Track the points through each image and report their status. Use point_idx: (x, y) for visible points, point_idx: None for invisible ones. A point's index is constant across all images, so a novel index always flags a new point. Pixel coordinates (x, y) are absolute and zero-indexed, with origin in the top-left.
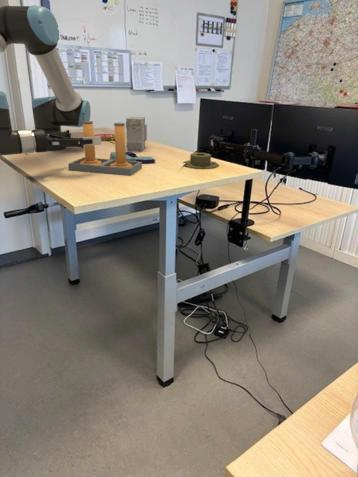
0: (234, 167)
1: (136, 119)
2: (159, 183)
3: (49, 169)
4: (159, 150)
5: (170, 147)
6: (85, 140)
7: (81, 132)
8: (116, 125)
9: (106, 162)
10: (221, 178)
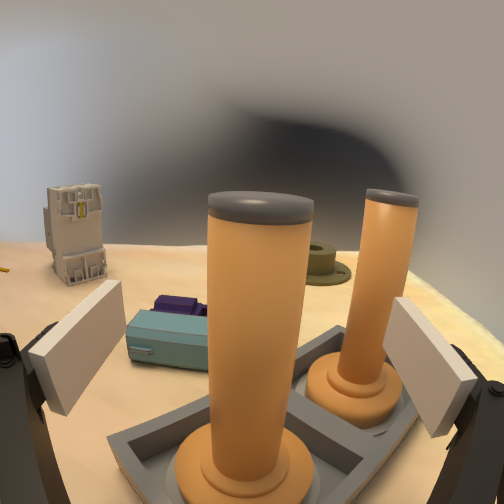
0: (347, 256)
1: (87, 188)
2: (471, 356)
3: None
4: (129, 258)
5: (126, 244)
6: (484, 381)
7: (98, 308)
8: (414, 206)
9: (306, 409)
10: (423, 285)
